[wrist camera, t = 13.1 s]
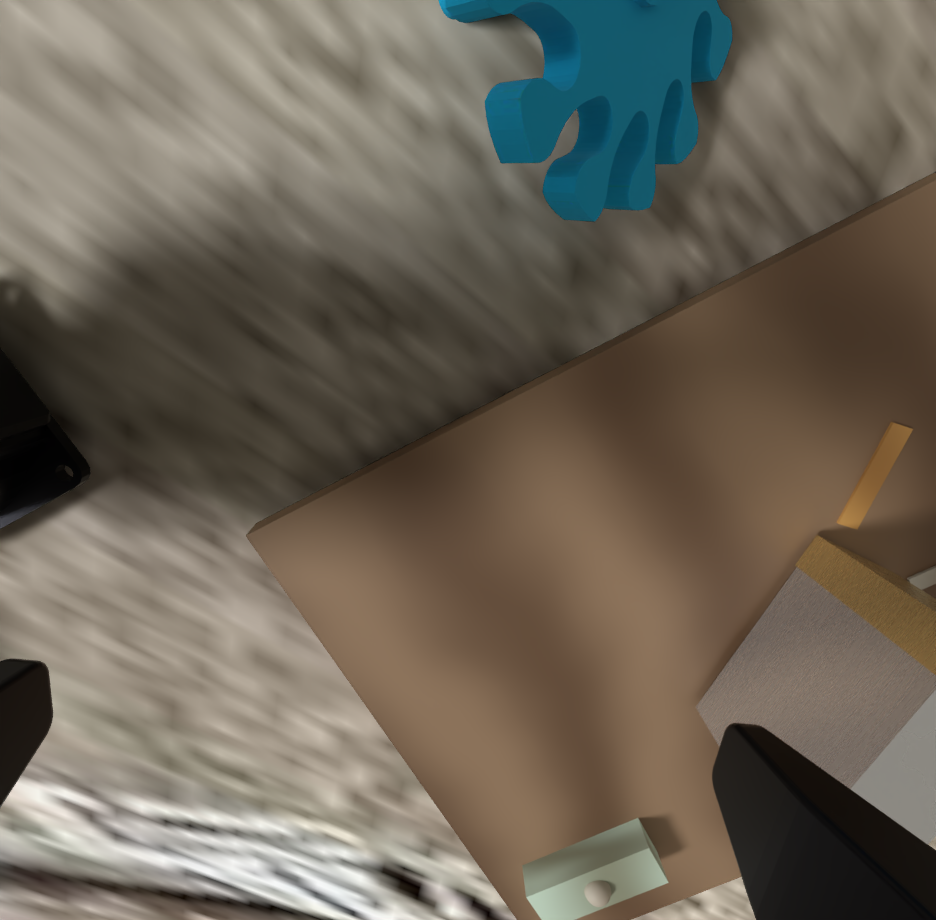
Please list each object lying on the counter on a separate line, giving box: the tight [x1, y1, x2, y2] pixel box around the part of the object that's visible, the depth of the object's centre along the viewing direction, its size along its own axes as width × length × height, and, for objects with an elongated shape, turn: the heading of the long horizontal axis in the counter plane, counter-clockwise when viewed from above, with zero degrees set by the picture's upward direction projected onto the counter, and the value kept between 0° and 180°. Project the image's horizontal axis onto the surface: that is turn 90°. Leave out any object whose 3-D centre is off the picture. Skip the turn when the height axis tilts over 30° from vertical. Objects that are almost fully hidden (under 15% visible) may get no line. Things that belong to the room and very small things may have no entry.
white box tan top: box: [696, 535, 936, 844], centre depth 16 cm, size 7×3×6 cm, turn 154°
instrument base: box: [246, 172, 936, 920], centre depth 18 cm, size 24×22×3 cm
